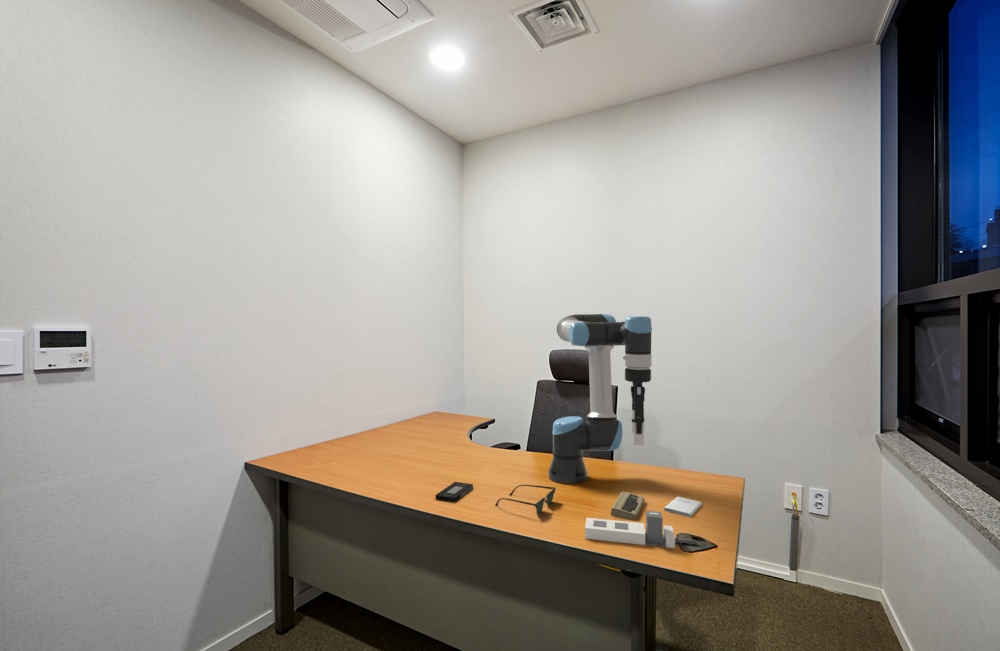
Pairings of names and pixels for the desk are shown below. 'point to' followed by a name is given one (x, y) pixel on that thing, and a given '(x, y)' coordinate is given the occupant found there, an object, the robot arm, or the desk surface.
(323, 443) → the desk surface
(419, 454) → the desk surface
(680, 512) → the external hard drive
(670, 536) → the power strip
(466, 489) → the vhs tape
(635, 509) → the computer
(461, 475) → the desk surface
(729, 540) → the desk surface
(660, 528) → the charger
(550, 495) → the sunglasses
